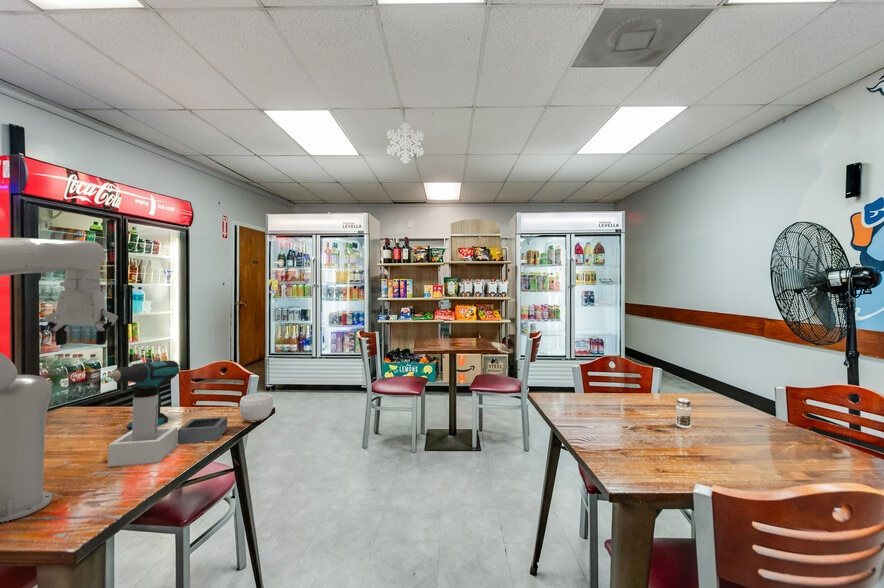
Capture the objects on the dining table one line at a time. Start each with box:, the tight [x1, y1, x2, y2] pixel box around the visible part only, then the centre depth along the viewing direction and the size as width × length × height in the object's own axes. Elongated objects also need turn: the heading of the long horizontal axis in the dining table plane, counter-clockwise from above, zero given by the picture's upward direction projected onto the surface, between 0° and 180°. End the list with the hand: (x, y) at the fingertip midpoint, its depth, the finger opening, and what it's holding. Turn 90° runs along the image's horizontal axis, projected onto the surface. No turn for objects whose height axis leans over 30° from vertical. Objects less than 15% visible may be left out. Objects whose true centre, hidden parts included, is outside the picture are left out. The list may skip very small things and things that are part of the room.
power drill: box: [106, 360, 180, 430], centre depth 144 cm, size 26×9×25 cm, turn 168°
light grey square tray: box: [107, 426, 179, 468], centre depth 119 cm, size 13×13×6 cm
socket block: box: [177, 416, 228, 445], centre depth 135 cm, size 12×12×5 cm
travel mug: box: [131, 385, 158, 441], centre depth 118 cm, size 6×7×20 cm
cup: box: [239, 392, 274, 422], centre depth 154 cm, size 12×12×10 cm
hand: (81, 344), depth 110 cm, fingers open, 9 cm apart
